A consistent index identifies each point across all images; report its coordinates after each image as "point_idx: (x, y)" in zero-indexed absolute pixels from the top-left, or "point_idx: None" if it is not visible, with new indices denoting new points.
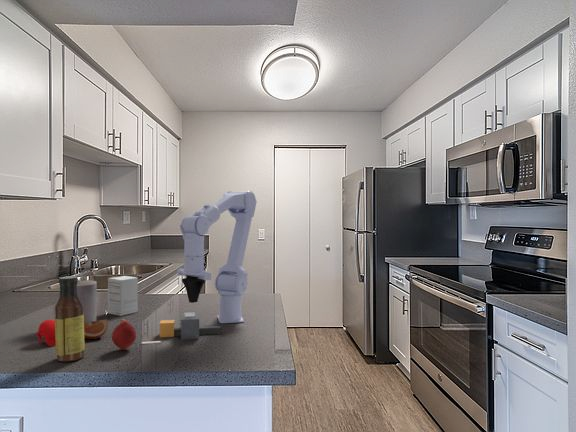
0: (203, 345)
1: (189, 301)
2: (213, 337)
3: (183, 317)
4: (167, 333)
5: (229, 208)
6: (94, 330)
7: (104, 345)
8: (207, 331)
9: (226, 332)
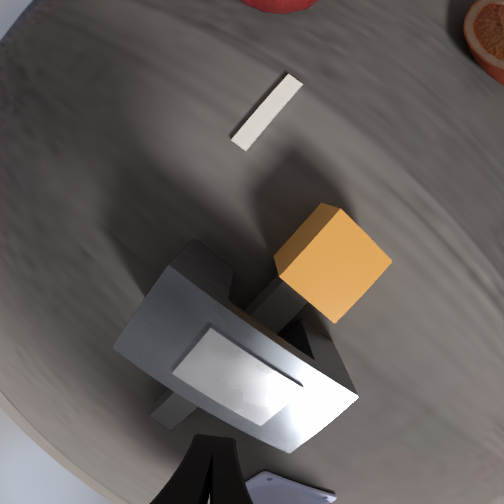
0: (68, 249)
1: (225, 441)
2: None
3: (213, 317)
4: (297, 235)
5: None
6: (486, 27)
7: (386, 4)
8: None
9: None
